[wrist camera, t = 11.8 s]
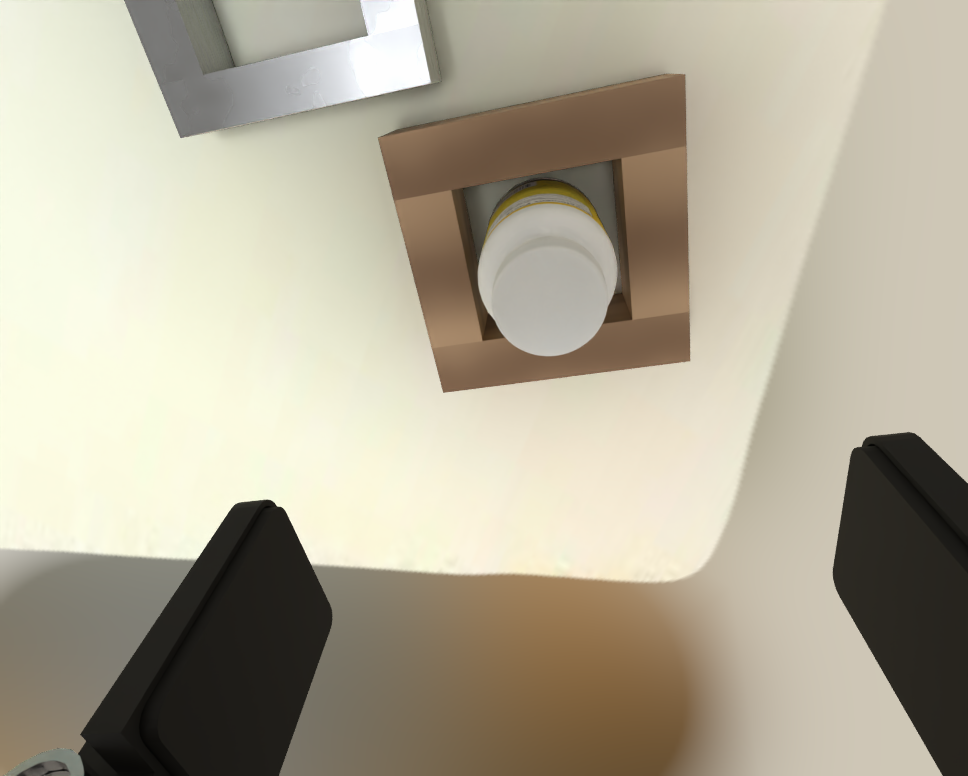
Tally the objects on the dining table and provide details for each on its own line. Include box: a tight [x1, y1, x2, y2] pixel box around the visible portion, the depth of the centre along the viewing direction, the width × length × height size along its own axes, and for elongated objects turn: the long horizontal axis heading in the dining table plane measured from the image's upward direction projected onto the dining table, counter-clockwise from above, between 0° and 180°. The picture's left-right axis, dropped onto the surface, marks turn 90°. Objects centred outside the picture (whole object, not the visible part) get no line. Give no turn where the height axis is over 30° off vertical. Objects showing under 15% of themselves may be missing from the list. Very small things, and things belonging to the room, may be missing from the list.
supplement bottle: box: [478, 178, 617, 356], centre depth 23 cm, size 5×5×10 cm
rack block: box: [378, 74, 690, 393], centre depth 26 cm, size 12×12×4 cm
